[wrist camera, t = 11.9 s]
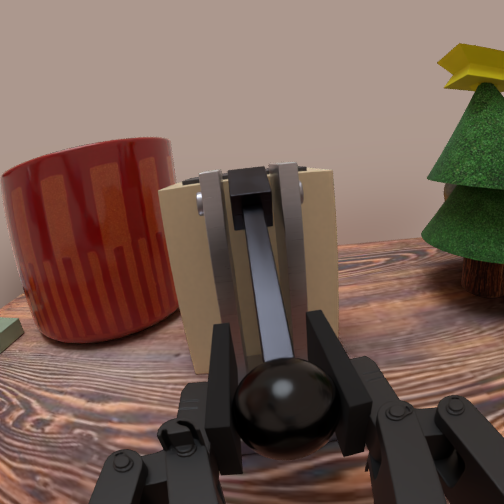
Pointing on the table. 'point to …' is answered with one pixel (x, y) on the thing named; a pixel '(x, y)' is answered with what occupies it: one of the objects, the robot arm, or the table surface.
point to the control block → (9, 331)
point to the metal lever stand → (289, 259)
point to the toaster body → (245, 260)
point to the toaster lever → (276, 346)
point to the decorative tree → (474, 173)
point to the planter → (93, 238)
